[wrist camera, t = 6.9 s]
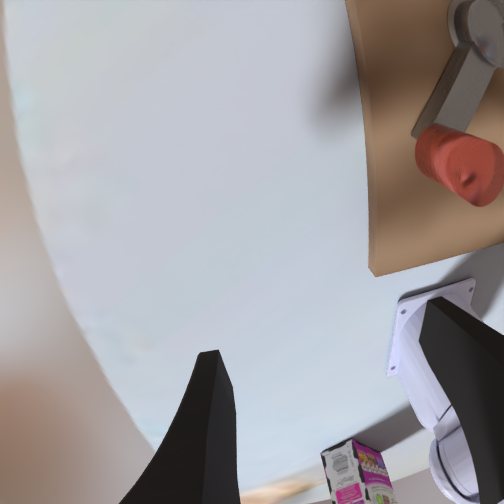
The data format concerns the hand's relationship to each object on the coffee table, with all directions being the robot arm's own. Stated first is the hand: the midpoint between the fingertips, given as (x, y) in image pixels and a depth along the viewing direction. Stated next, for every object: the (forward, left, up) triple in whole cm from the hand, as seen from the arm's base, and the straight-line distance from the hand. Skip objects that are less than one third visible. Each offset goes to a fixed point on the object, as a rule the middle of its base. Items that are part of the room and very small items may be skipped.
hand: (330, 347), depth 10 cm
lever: (+10, -13, -8) cm, 19 cm away
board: (+7, -20, -10) cm, 23 cm away
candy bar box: (-36, -6, -10) cm, 38 cm away
